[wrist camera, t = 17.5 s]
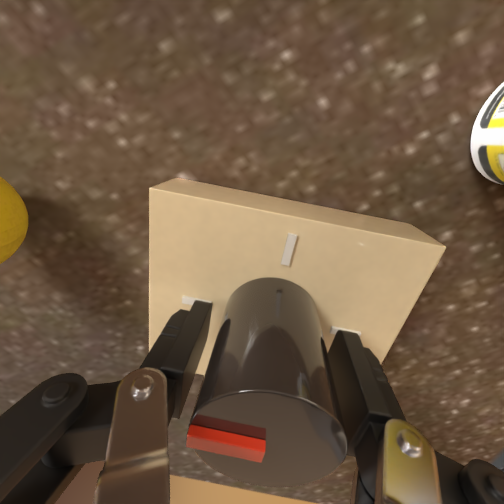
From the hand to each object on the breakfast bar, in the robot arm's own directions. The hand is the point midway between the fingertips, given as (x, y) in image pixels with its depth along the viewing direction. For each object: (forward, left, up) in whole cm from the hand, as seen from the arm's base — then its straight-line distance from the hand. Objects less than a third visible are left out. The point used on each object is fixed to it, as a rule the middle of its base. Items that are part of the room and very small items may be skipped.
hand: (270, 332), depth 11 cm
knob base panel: (0, 0, -4) cm, 4 cm away
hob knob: (0, 0, -1) cm, 1 cm away
